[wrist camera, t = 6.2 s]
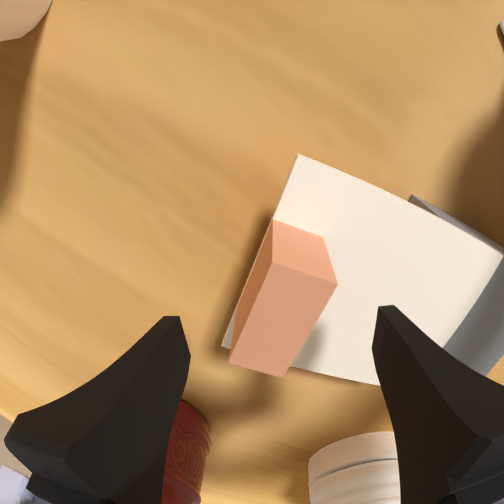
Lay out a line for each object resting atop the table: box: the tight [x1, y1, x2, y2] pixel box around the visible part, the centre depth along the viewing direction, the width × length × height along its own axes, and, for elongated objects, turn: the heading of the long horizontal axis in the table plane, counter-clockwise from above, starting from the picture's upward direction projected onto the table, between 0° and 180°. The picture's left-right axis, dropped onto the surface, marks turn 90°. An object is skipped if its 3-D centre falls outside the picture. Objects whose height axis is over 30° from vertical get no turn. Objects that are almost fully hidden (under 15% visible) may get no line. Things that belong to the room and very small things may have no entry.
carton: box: [409, 195, 504, 376], centre depth 19 cm, size 13×11×4 cm
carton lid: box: [221, 154, 503, 386], centre depth 14 cm, size 13×11×4 cm
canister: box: [162, 400, 211, 504], centre depth 22 cm, size 13×13×18 cm
